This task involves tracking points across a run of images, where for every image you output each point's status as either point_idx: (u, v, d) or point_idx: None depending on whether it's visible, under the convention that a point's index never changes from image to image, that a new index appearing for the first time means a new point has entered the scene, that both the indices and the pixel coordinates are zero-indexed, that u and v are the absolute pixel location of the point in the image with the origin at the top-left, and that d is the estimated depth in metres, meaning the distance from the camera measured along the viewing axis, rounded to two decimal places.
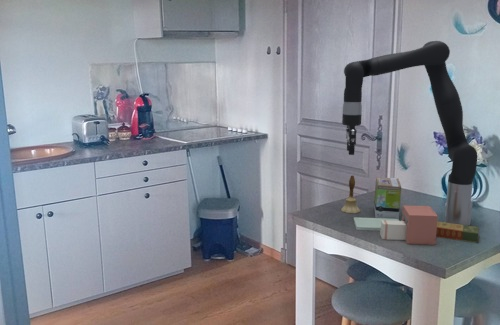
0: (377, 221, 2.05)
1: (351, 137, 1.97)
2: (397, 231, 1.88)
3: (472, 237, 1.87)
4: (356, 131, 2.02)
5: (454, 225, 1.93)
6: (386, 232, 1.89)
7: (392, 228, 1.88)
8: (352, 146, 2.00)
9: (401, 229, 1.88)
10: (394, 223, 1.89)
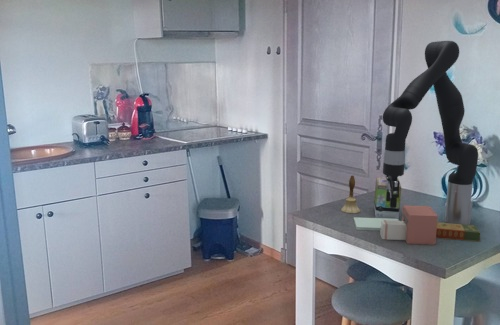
0: (377, 221, 2.05)
1: (394, 189, 1.80)
2: (397, 231, 1.88)
3: (474, 236, 1.87)
4: None
5: (453, 225, 1.93)
6: (386, 232, 1.89)
7: (392, 228, 1.88)
8: (394, 199, 1.83)
9: (401, 229, 1.88)
10: (394, 223, 1.89)
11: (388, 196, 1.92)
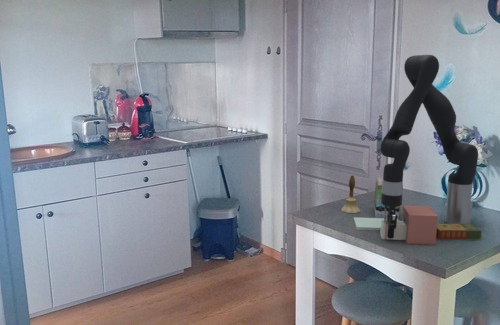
0: (377, 221, 2.05)
1: (391, 222, 1.84)
2: (397, 231, 1.88)
3: (476, 235, 1.89)
4: (396, 212, 1.87)
5: (453, 225, 1.93)
6: (386, 232, 1.89)
7: None
8: (392, 229, 1.87)
9: (401, 229, 1.88)
10: None
11: None
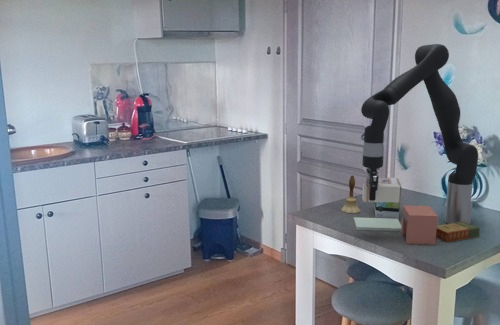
0: (377, 221, 2.05)
1: (373, 184, 1.83)
2: (379, 193, 1.87)
3: (475, 232, 1.91)
4: None
5: (452, 225, 1.93)
6: (368, 194, 1.88)
7: None
8: (373, 191, 1.86)
9: (382, 191, 1.87)
10: None
11: None
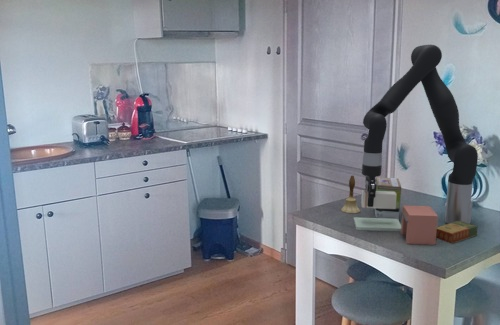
0: (377, 221, 2.05)
1: (371, 191, 1.96)
2: (376, 200, 2.00)
3: (474, 231, 1.93)
4: (376, 182, 1.99)
5: (452, 226, 1.93)
6: (366, 201, 2.00)
7: None
8: (371, 198, 1.99)
9: (380, 198, 2.00)
10: None
11: None
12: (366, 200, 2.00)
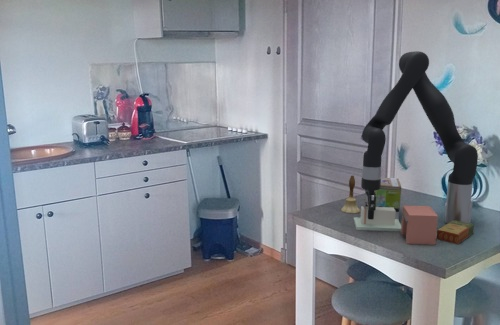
0: None
1: (371, 203, 1.96)
2: (375, 216, 2.01)
3: (472, 230, 1.94)
4: (375, 195, 2.00)
5: (452, 226, 1.92)
6: (365, 217, 2.02)
7: None
8: (371, 211, 1.98)
9: (379, 214, 2.01)
10: None
11: None
12: (365, 216, 2.02)
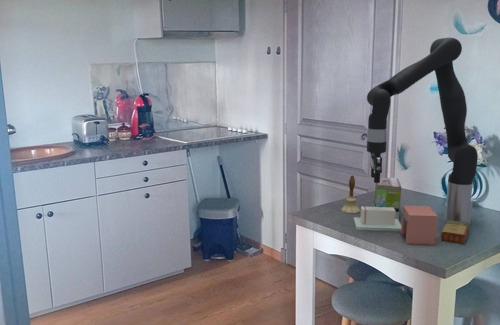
0: None
1: (377, 165, 1.93)
2: (375, 216, 2.01)
3: (468, 228, 1.96)
4: (381, 158, 1.97)
5: (452, 226, 1.92)
6: (365, 217, 2.02)
7: (371, 213, 2.01)
8: (378, 174, 1.95)
9: (379, 214, 2.01)
10: (372, 209, 2.02)
11: (372, 173, 2.04)
12: (365, 216, 2.02)
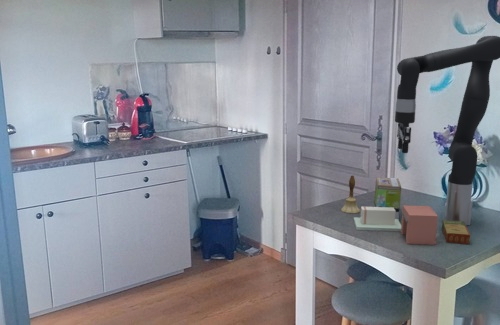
0: None
1: (406, 135, 1.94)
2: (375, 216, 2.01)
3: None
4: None
5: (453, 226, 1.92)
6: (365, 217, 2.02)
7: (371, 213, 2.01)
8: (406, 144, 1.96)
9: (379, 214, 2.01)
10: (372, 209, 2.02)
11: (400, 144, 2.05)
12: (365, 216, 2.02)
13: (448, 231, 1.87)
